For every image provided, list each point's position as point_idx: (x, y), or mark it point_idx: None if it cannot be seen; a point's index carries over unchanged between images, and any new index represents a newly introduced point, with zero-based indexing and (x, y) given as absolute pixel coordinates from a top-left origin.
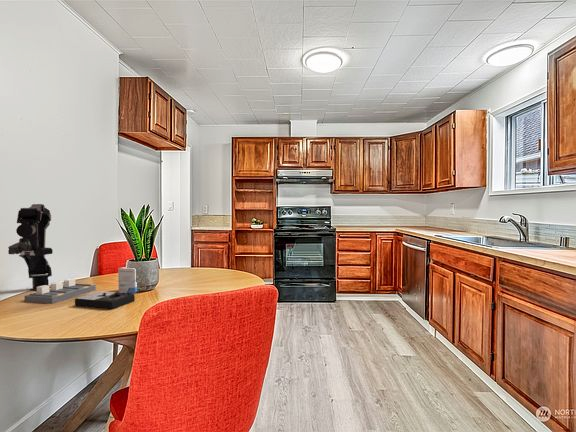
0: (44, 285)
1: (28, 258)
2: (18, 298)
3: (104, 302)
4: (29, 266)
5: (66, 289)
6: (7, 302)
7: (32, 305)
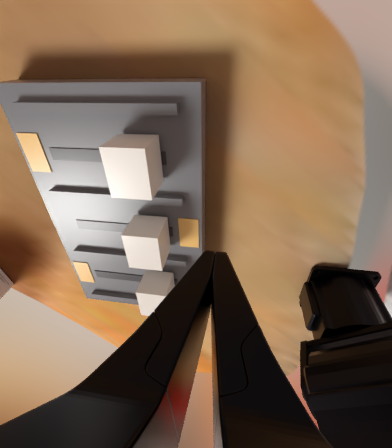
0: (139, 193)
1: (140, 409)
2: (308, 131)
3: None
4: (205, 278)
5: (119, 239)
6: (302, 23)
7: (67, 7)
